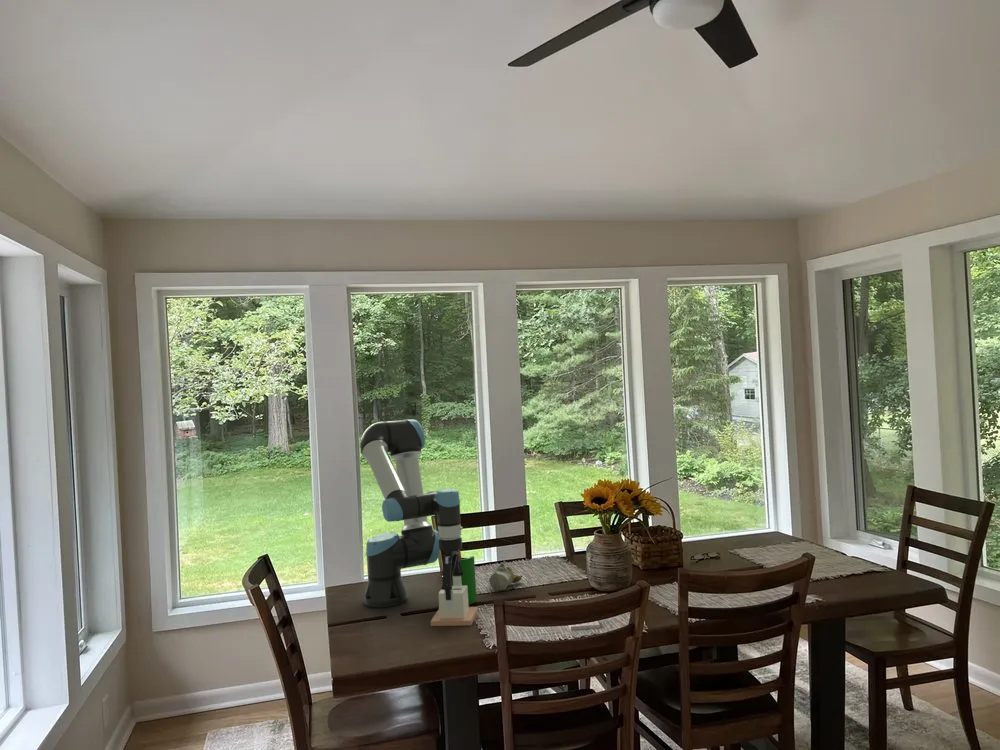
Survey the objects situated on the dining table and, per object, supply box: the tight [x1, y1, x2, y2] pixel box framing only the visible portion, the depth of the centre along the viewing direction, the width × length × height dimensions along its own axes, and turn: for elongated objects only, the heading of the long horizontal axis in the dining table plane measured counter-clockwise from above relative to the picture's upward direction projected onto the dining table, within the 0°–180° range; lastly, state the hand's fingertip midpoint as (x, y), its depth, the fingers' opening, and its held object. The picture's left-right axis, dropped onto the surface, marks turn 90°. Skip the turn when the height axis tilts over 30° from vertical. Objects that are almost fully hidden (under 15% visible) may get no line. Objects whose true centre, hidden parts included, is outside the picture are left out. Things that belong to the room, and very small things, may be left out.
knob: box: [437, 585, 470, 618], centre depth 233 cm, size 8×8×8 cm
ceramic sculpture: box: [488, 563, 523, 592], centre depth 265 cm, size 11×9×15 cm
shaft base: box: [430, 606, 479, 627], centre depth 233 cm, size 13×13×6 cm
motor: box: [452, 549, 478, 605], centre depth 250 cm, size 10×9×20 cm
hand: (454, 602), depth 233 cm, fingers open, 13 cm apart
